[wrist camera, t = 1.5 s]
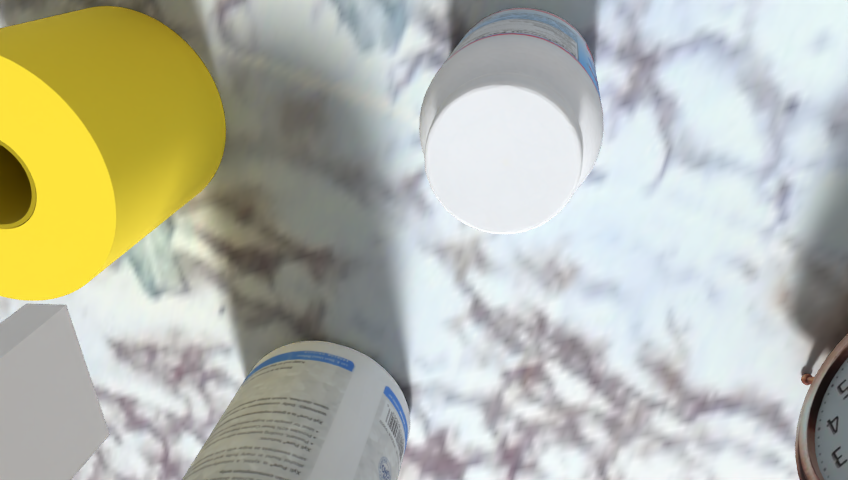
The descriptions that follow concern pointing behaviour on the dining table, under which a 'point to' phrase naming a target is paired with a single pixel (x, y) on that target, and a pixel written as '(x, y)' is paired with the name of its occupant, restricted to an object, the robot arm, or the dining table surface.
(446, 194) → the pill bottle
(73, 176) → the yellow toilet paper roll
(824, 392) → the alarm clock
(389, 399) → the supplement tub
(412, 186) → the dining table surface
